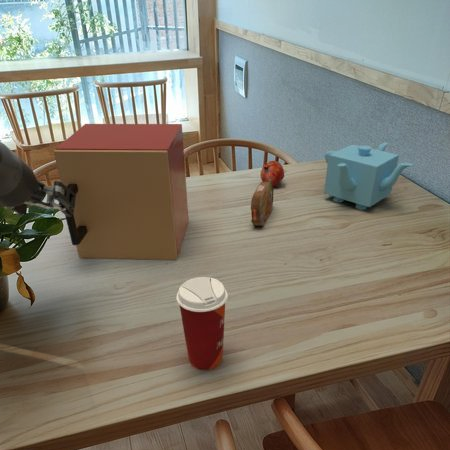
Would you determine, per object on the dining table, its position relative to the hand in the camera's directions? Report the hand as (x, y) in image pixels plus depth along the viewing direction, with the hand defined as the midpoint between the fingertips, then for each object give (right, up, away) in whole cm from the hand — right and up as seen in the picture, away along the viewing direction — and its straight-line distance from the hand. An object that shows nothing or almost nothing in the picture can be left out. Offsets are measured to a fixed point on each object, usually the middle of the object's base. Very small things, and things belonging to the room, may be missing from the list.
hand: (47, 211), depth 80 cm
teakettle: (+69, +11, +44) cm, 83 cm away
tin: (+41, +5, +36) cm, 55 cm away
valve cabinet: (+11, -1, +29) cm, 31 cm away
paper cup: (+29, -26, -6) cm, 39 cm away
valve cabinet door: (+10, -8, +18) cm, 22 cm away
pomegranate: (+46, +19, +55) cm, 74 cm away
